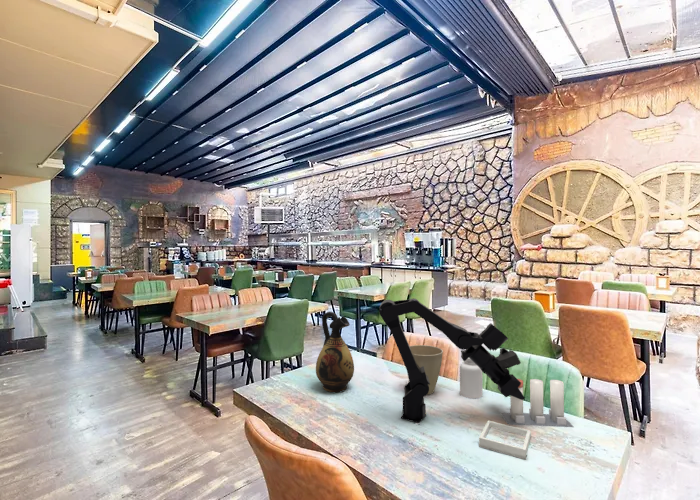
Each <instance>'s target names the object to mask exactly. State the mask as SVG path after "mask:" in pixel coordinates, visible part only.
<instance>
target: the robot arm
mask: <svg viewBox="0 0 700 500" xmlns="http://www.w3.org/2000/svg"><path fill="white" fill-rule="evenodd" d="M378 312H379V315H380V318H382V321H383V322H384V323H385V325H386V327H387V328H388V329H389V330H390V333H391V335H392V337H393V340H394V342H395V345H396V347H397V350H398V352H399V355H400V357H401V359H402V361H403V364H404V366H405V369H406V372H407V378H408V382H407V383H406V384H405V385H404V386H403V392H404V394H403V395H404V396H402V414H401V415H400V419H402V420H407V421H410V422H414V423H419V424H420V423H421V422H422V420H424V418H425V417H426V416H427V413H426V409H427V408H426V405H427V404H426V403H425V398H424V397H426V396H427V394H428V392H429V386H428V384H429V385H430V382H429V378H428V376H427V375H426V373H425V370H424V366H423V367H421V368H420V367H419V366H418V365H417V363H416V361H415V358H414V356H413V354H412V351H411V349H410V346H411V345H410V344H409V341H408V340H407V337H406V335H405V332H404V330H403V327H402V325H401V320H400V316H403V315H406V314H410V313H413V314H416V315H417V316H418V317H420V318H421V319H423V320H424V321H425V322H427V323H428V324H430V325H432V326H433V327H434V328H435V329H436V330H437V329H438V330H439V332H441V333H443V334H444V335H445V336H446V338H448V339H449V341H451V342H452V344H453V345H455V346H456V347H457V348H458V349H459V350H460V352H461V353H460V354H461V356H460V357H461V359H462V361H463V362H464V361H465V360H466V359H468V358H470V359H471V360H472V361H473V362H474V363H475V364H476V365H477V366H478V367H479V368H480V369H481V370H482V374H485V375H486V376H487V377H488V378H489V379H490V380H491V381H492V383H494V384H495V385H497V389H498V391H499V392H500V394H502V396H503V397H504V398H508V397H510V395H511V396H513V397H516V398H518V399H521V400H523V401H524V400H525V399H526V397H525V396H524V393H523V394H522V393H521V391H520V390H519V388H518V387H519V386H520V385H521V382H520V381H519V380H518V379H519V378H517V377H516V376H515V375H514V374H513V373H512V374H510V368H512V367H515V366H519V365H520V364H521V360H520V358H519V357H518V354H517V353H516V352H515V351H514V350H511V349H509V350H507V349H506V347H502V348H500V347H501V346H502V345H503V344H504V343H505V342H507V341H508V339H509V338H508V337H507V336H506V334H505V333H503V332H502V331H501V330H500V329H498V328H497V327H496V326H495V325H494V324H493V323H491V322H490V323H489V324H487V326H486V328H484V330H482V331H481V332H480V333H478V332H472V331H468V330H467V329H466V328H464V327H462V326H460V325H458V324H455V323H453V322H450V321H448V320H446V319H445V318H443V317H442V316H441V315H439V314H438V313H436V312H435V311H434V310H432V309H430V308H429V307H427V306H426V305H424V304H423V303H421V302H420V301H419V299H417V298H410V299H401V300H392V299H384V300H383V301H382V302H381V303H380V305H379V309H378ZM483 345H484V346H485V347H486V348H487V349H488V350H489V351H491V350H492V351H493V352H494V351H495V352H496V351H497V350H498V349H499V354H498V356H495V355H494V354H491V352H489V351H488V350H487V349H486V348H485V347H484V346H483ZM428 395H429V394H428Z"/></svg>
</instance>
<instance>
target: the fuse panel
mask: <svg viewBox="0 0 700 500" xmlns="http://www.w3.org/2000/svg"><path fill="white" fill-rule="evenodd" d="M529 386H530V387H529V395H530V396H529V398H530V401H529V402H530V408H529V411H528V413H526V412H523V416H520V415H515V420H512V419H511V407H509V412H501V411H499V414H500V415H501V416H502V418H503V420H504V421H505V422H506V425H510V426H538V427H539V426H541V427H555V428H556V427H560V428H575V427H574V425H573V424H572V423H570V421H569V420H568V419H567V418H566V417H565V398H564V397H565V396H564V395H565V390H564V389H565V385H564V382H563V381H562V380H560V379H550V380H549V388H550V391H549V393H550V396H549V397H550V399H549V400H550V409H548V413H544V381H543V380H541V379H538V378H530V379H529Z"/></svg>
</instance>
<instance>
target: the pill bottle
mask: <svg viewBox="0 0 700 500" xmlns="http://www.w3.org/2000/svg"><path fill="white" fill-rule="evenodd" d="M483 391H484V390H483V372H482V370H481V369H480V368H479V367H478V366H477V365H476V364H475V363H474V362H473V361H472V360H471V359H470V358H468V359H466V360H465V361H463V362H461V363H460V365H459V396H462V397H464V398H468V399H473V400H476V399H480V398H482V397H483Z"/></svg>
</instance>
